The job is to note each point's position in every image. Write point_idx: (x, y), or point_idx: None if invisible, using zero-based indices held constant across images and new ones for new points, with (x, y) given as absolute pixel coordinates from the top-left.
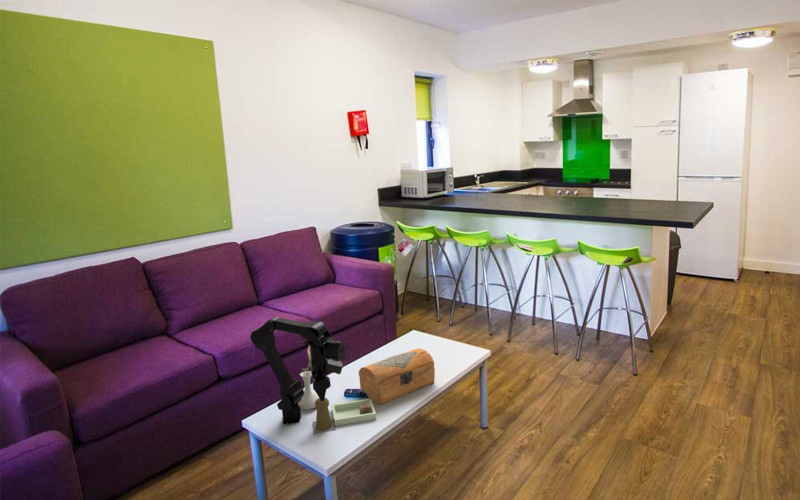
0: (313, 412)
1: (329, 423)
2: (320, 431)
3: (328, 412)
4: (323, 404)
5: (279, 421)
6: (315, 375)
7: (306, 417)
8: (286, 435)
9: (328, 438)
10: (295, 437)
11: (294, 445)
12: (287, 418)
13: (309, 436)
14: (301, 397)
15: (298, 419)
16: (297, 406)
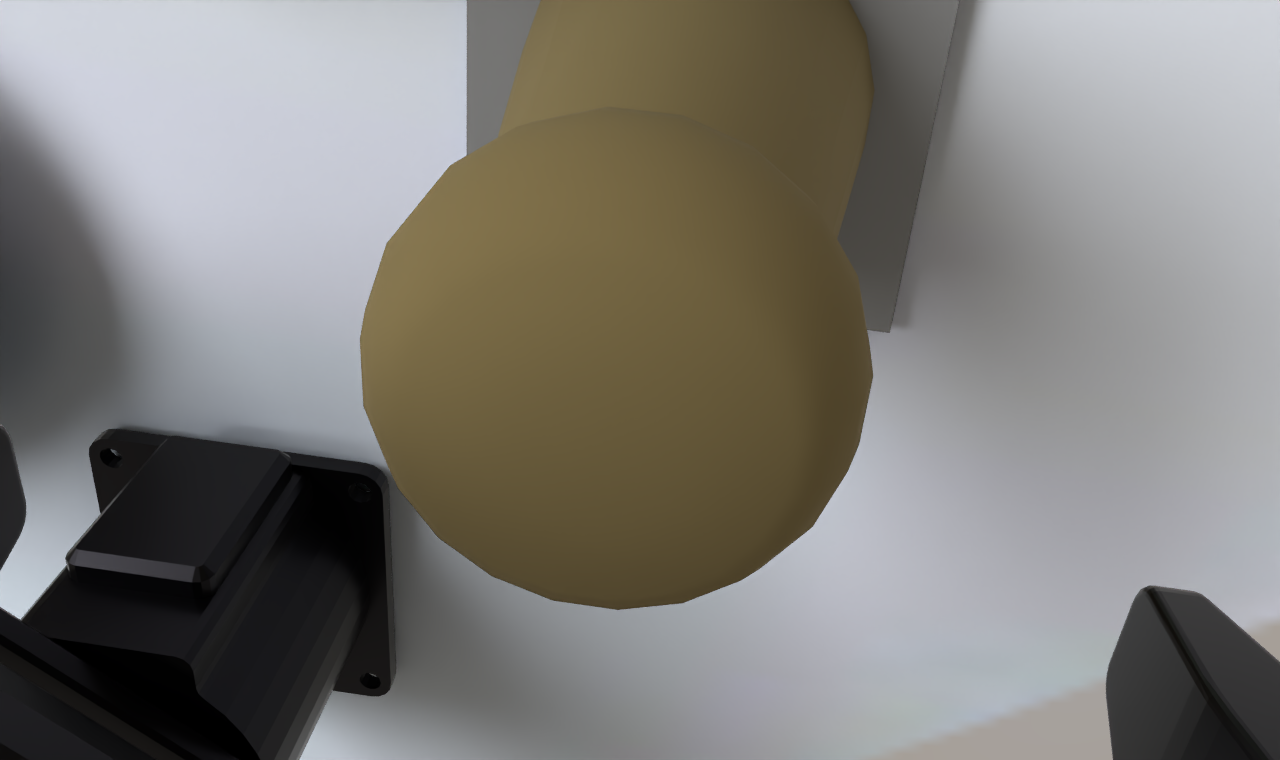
0: (79, 188)
1: (823, 12)
2: (886, 209)
3: (751, 82)
4: (856, 400)
5: None
6: None
7: (241, 338)
8: (709, 687)
9: (1201, 91)
10: (830, 596)
11: (1059, 646)
12: (335, 683)
13: (917, 406)
14: (61, 738)
15: (319, 489)
16: (199, 666)
